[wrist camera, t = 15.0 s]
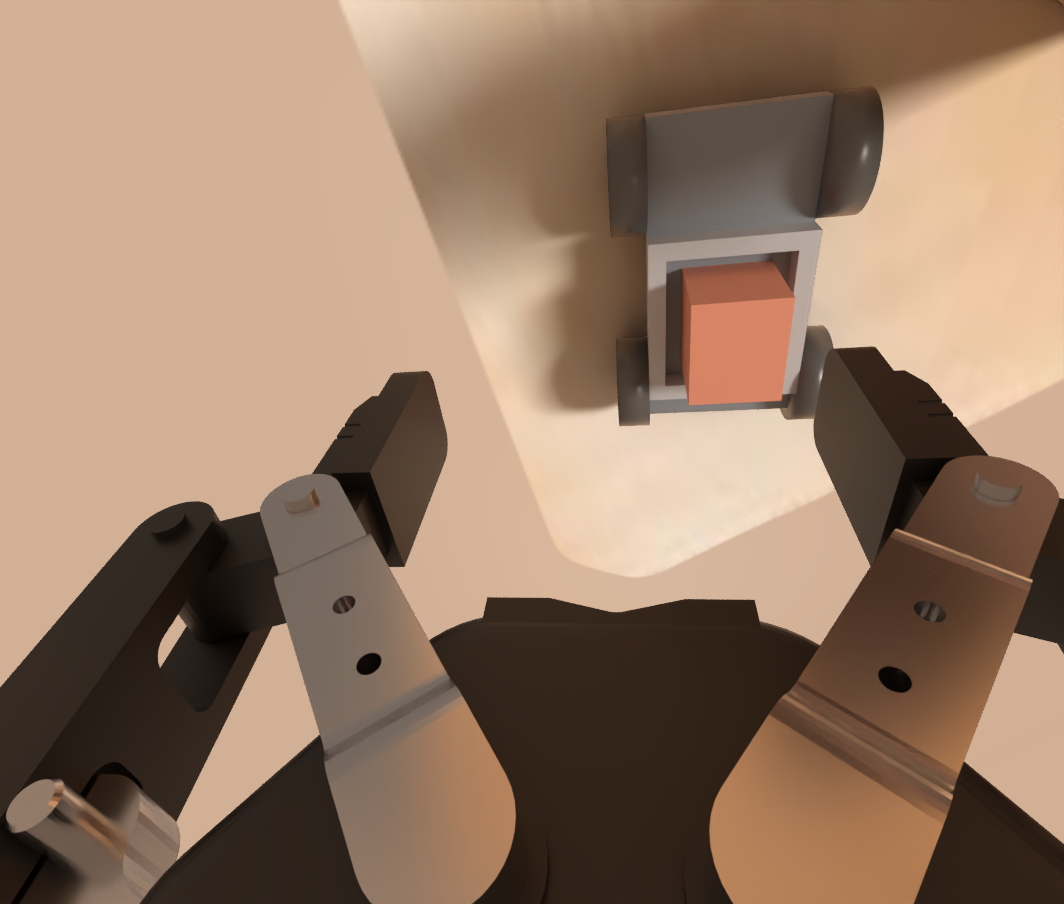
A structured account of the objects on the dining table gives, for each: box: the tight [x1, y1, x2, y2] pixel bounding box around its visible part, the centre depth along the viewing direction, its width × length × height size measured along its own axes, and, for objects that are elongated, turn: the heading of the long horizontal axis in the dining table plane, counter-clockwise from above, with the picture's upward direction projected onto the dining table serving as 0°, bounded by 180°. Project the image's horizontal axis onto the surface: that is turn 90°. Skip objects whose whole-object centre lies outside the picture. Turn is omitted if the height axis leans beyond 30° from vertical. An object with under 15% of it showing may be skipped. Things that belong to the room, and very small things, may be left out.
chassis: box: [606, 86, 884, 426], centre depth 36 cm, size 13×19×6 cm
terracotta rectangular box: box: [680, 260, 795, 405], centre depth 34 cm, size 5×6×6 cm
